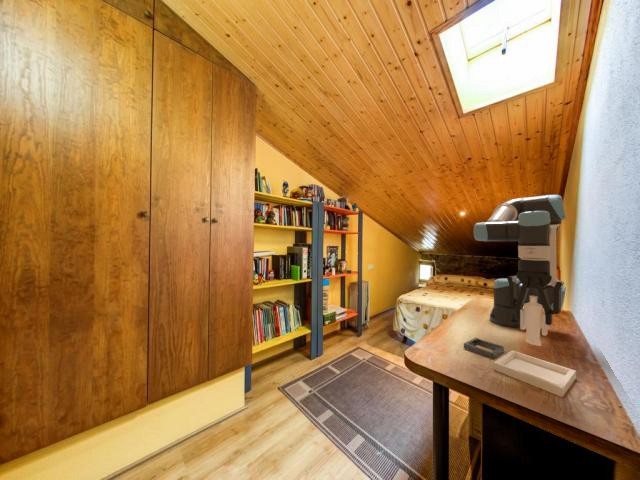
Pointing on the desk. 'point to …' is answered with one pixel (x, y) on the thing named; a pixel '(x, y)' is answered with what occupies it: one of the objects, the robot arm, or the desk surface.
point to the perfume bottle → (533, 320)
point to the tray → (536, 372)
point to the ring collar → (493, 354)
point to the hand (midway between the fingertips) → (533, 331)
